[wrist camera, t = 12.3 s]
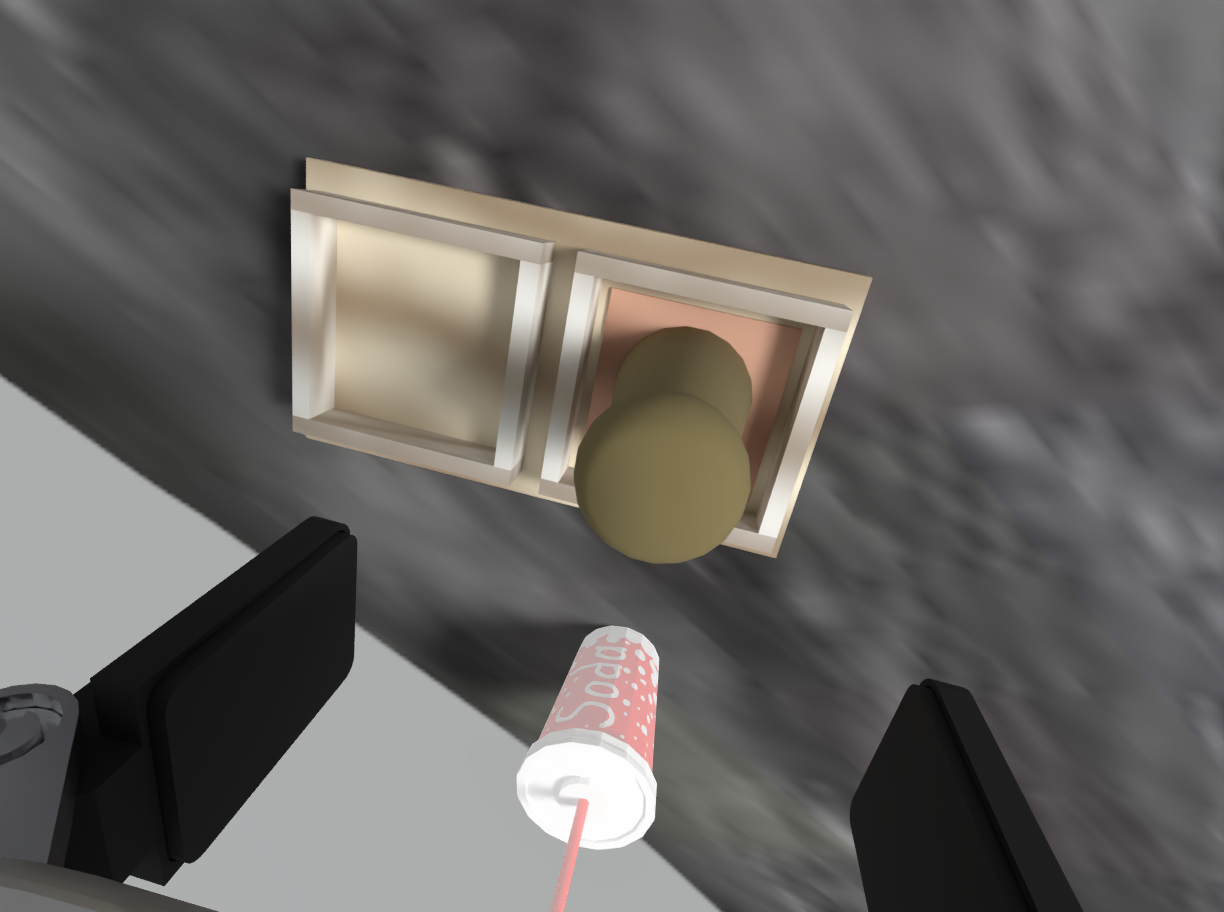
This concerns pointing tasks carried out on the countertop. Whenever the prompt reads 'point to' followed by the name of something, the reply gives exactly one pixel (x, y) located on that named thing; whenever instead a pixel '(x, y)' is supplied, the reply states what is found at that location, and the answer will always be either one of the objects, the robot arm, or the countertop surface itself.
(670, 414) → the cork
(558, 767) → the beverage cup
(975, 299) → the countertop surface
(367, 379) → the spice holder
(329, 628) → the robot arm
